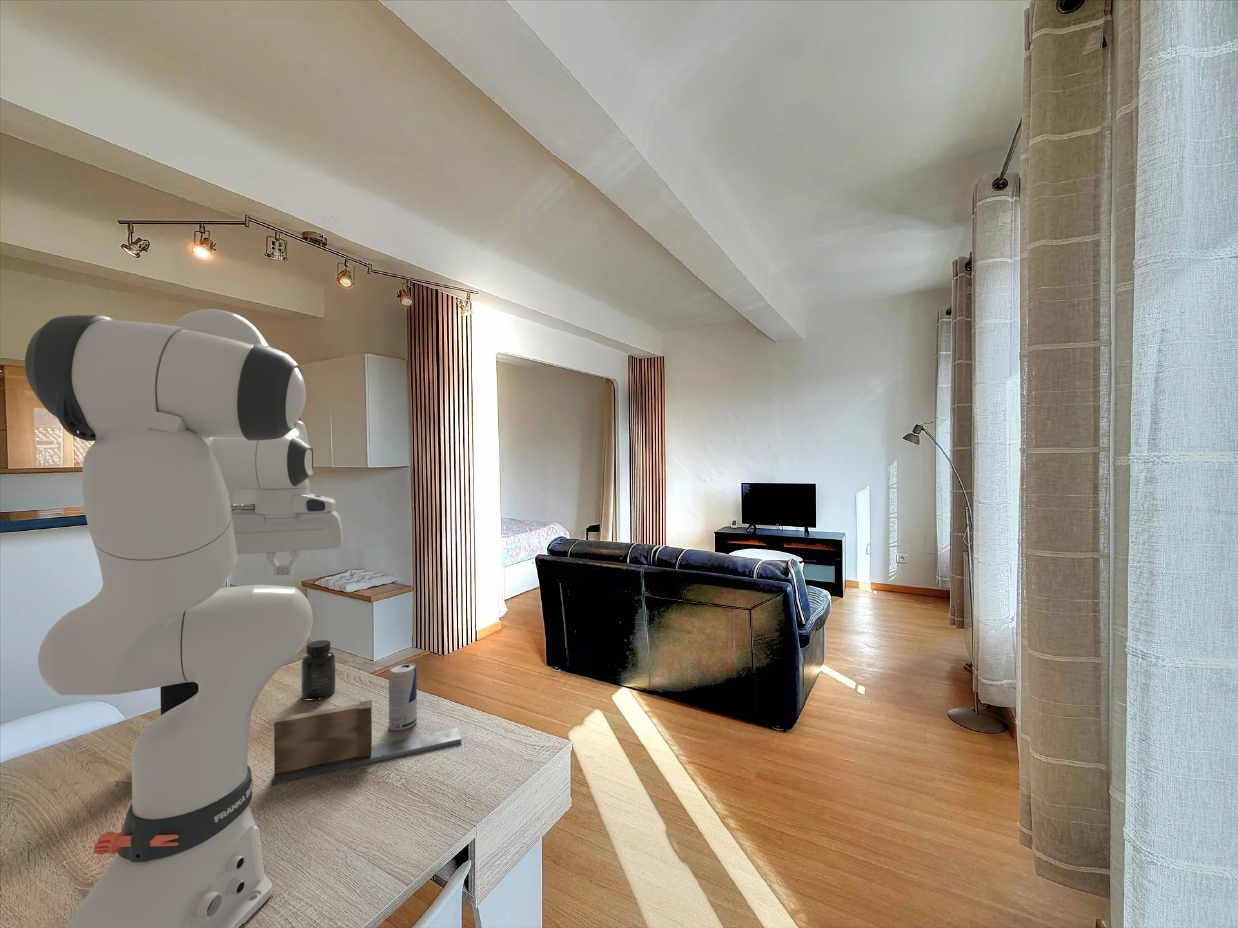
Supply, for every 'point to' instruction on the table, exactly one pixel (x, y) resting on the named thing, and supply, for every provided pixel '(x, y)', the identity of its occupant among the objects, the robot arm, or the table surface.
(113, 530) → the robot arm
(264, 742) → the table surface
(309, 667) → the supplement bottle
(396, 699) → the energy drink
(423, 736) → the screen rail
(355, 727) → the walnut screen
